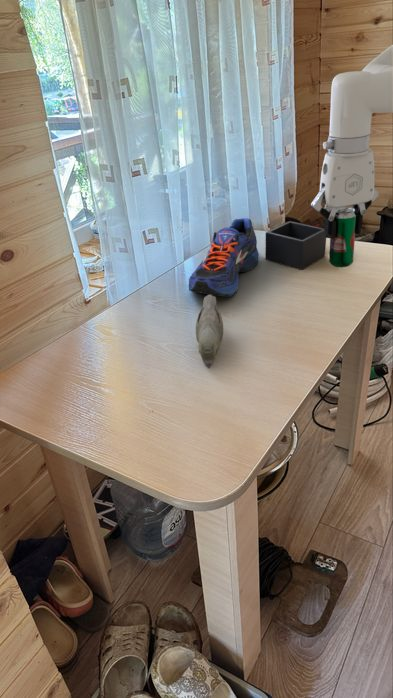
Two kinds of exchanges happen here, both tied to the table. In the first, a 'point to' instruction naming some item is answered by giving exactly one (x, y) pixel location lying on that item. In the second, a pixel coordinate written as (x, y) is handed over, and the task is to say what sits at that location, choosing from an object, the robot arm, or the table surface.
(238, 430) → the table surface
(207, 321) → the decorative bird
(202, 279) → the running shoe
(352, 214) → the soda can
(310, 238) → the dark grey open box
